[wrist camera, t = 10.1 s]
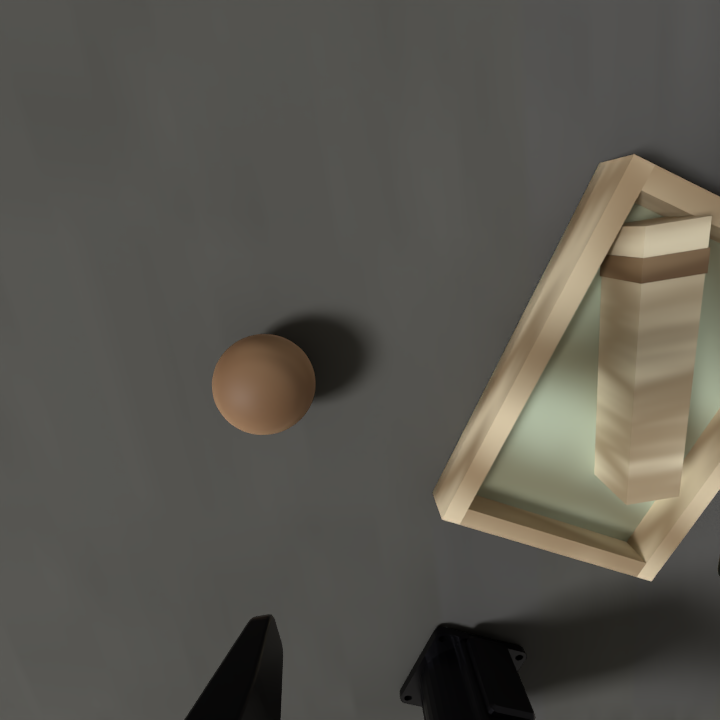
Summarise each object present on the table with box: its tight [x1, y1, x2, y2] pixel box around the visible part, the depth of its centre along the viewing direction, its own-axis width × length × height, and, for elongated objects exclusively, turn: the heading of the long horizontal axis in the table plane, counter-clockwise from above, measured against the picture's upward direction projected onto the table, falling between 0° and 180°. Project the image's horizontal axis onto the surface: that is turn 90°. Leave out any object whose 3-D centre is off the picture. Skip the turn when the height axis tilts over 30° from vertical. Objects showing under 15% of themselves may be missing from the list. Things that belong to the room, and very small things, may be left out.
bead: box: [212, 334, 315, 435], centre depth 18 cm, size 4×4×4 cm
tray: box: [432, 154, 720, 581], centre depth 20 cm, size 18×13×2 cm
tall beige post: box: [594, 216, 712, 505], centre depth 19 cm, size 3×3×13 cm
